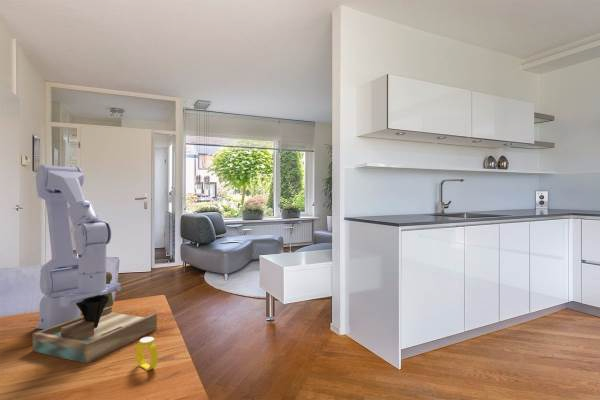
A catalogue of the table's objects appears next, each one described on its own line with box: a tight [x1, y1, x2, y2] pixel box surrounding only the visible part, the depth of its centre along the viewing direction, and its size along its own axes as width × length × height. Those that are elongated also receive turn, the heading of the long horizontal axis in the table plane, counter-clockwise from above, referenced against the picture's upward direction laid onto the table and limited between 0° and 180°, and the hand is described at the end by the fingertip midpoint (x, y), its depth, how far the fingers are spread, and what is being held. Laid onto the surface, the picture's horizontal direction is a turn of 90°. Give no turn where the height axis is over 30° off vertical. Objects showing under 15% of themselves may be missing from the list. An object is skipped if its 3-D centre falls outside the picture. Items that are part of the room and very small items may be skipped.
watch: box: [135, 336, 159, 372], centre depth 68 cm, size 6×3×6 cm, turn 55°
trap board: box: [31, 306, 158, 364], centre depth 82 cm, size 17×20×4 cm
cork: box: [104, 271, 114, 308], centre depth 107 cm, size 6×6×11 cm
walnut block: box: [61, 320, 94, 340], centre depth 77 cm, size 4×5×3 cm
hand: (92, 327), depth 80 cm, fingers closed
